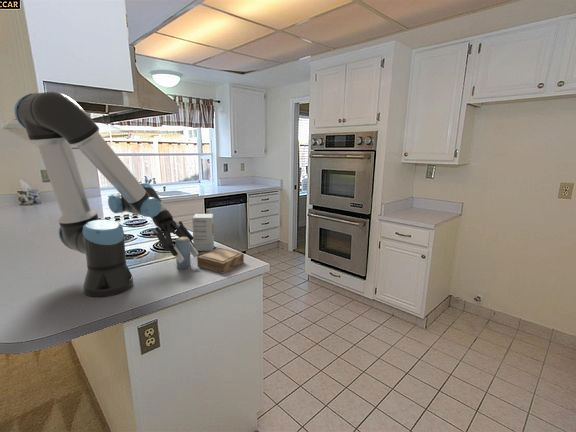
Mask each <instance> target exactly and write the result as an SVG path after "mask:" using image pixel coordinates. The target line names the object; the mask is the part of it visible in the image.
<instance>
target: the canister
mask: <svg viewBox="0 0 576 432" xmlns="http://www.w3.org/2000/svg"><path fill="white" fill-rule="evenodd" d="M175 246H176V247H177V249H178V250H179V252H180V253H181V255H182V256H183V258H184V260H183V262H182V263H179V261H178V260H177V258H176V257H175V259H176V261H175V263H176V269H178V270H189V268H191V267H192V265H191V262H192V261H191V252H190V239H189V238H188V237H178V236H177V238H176V239H175Z"/></svg>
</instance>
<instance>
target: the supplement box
mask: <svg viewBox="0 0 576 432" xmlns="http://www.w3.org/2000/svg"><path fill="white" fill-rule="evenodd" d="M191 219H192V236H193V237H194V239H193V240H192V243H193V244H194V246H195V249H196V250H197V252H210V251H213V250H214V247H215V235H214V233H215V230H214V227H215V226H214V219H215V218H214V214H213V213H194V215H193V217H192V218H191Z"/></svg>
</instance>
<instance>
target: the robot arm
mask: <svg viewBox="0 0 576 432" xmlns="http://www.w3.org/2000/svg"><path fill="white" fill-rule="evenodd" d="M13 111H14V117H15V119H16V120H17V122H18V123H19V125H20V126H22V127H23V128H24V129H25V131H26V133H27V137H28V139H29V141H30V142H31V143H34V144H35V145H36V146H37V147H38V149H39V152H40V155H41V159H42V161H43V165H44V167H45V170H46V172H47V175H48V176H47V177H48V179H49V181H50V184H51V188H52V190H53V193H54V197H55V199H56V201H57V204H58V208H59V210H60V213H61V216H60V217H59V218H58V220H57V221H58V223H59V228H58V233H57V234H58V238H59V239H60V242H61V243H62V244H63V245H64V246H65V247H67V248H68V249H70V250H72V251H77V252H79V253H81V254H83V255H85V257H86V260H85V261H86V266H87V270H86V274H85V276H84V277H85V278H84V282H83V293H84V295H86V296H89V297H94V298H100V297H101V298H102V297H109V296H115V295H119V294H121V293H124V292H125V291H128V290H129V289H131V288H132V287H133V285H134V278H133V273H132V272H131V271H130V269H129V266H128V265H127V259H126V258H127V257H126V247H125V245H126V243H125V232H124V227H123V225H122V224H121V223H120V222H119V221H116V220H113V219H109V220H108V219H99V215H98V212H97V211H96V210H94V209H92V208H91V205H90V203H89V200H88V196H87V194H86V189H85V187H84V183H83V180H82V177H81V173H80V171H79V167H78V164H77V163H78V162H77V161H76V157H75V155H74V151H73V147H72V146H76V147H77V148H78V150H80V152H81V153H82V154H83V155H84V156H85V157H86V158H87V160H88V161H89V162H91V164H92V165H93V166H94V167H95V168H96V169H97V170H98V171H99V173H100V174H101V175H102V176H103V177H104V178H105V179H106V180H107V181H108V183H110V185H111V186H112V187H113V188H114V189H115V190H116V191H117V192H118V193H115V194H111V195H110V196H108V199H107V203H108V207H109V210H110V211H111V212H112V213H113V214H120V213H121V214H123V213H124V212H127V213H131V214H135V215H140V216H143V217H146V218H147V217H149V218H150V219H151V220H152V222H153V223H154V225H155V228H154V230H153V234H155V236H156V237H157V239H158V241H159V243H160V245H161V247H162V249H163V250H164V251H167V252H170V253H171V254H172V256H173V257H175V259H176V258H177V260H178V261H179V263H182V262H183V260H184V258H183V256H182V255H181V253H180V252H179V250H178V249H177V247H176V245H175V246H174V243H173V238H172V235H171V234H173V235H176V236H177V238H178V237H188V238H189V239H190V254H191V255H192V256H193V258H196V257H198V255H199V254H200V253H199V251H197V250H196V249H195V246H194V244H193V239H194V237H193V234H191V233H190V231H189V230H188V229H187V228H186V227H185V225H184V224H183V221H181V220H180V221H179V222H176V221H175V220H174V219H173V215H172V213H170V210H168V208H167V206H166V205H165V204H164V202H163V201H162V200H161V197H160V196H159V195H158V193H157V192H156V189H154V187H153V186H152V185H151V184H150V183H148V182H141V183H140V182H139V181H138V179H137V178H136V177H135V175H133V173H132V172H131V171H130V170H129V168H128V167H127V166H126V165H125V164H124V162H123V160H121V159H120V157H119V156H118V155H117V154H116V152H115V151H114V150H113V149H112V147H111V146H110V145H109V143H107V141H106V140H105V139H104V137H103V136H102V135H101V134H100V132H99V131H100V128H99V126H98V125H97V123H96V122H95V120H93V119H92V117H91V116H90V114H88V113H87V111H86V110H84V108H82V107H81V105H80V104H78V103H77V101H75V100H74V99H72V98H71V97H70V96H67V95H66V94H64V93H61V92H57V91H46V92H34V93H29V94H26V95H23V96H21V97H20V98H19V99H18V100H17V101H16V102H15V105H14V107H13Z"/></svg>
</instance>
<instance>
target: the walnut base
mask: <svg viewBox="0 0 576 432" xmlns="http://www.w3.org/2000/svg"><path fill="white" fill-rule="evenodd" d="M196 257H197V267H202V268H204V269H208V270H212V271H215V272H218V273H223V274H224V273H226V272H228V271H230V270H232V269H233V268H235V267H237V266H239V265H241V264H243V263H244V261H245V258H244V257H245V254H244V253H243V252H238V251H235V250H230V249H225V248H221V247H218V248H215V249H213V251H207V252H205V253H203V254H201V255H199V256H198V255H197V256H196Z"/></svg>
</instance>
